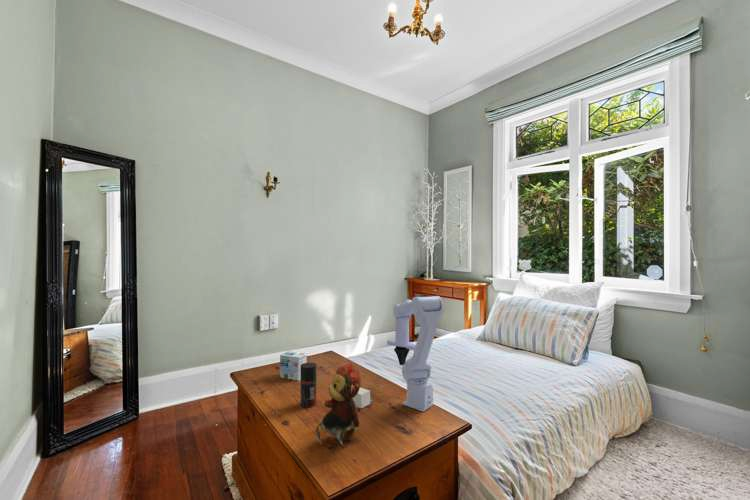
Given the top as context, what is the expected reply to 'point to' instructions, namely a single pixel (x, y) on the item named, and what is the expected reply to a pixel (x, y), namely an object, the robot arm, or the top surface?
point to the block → (362, 398)
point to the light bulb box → (292, 365)
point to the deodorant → (308, 385)
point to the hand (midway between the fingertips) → (402, 364)
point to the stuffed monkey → (342, 402)
